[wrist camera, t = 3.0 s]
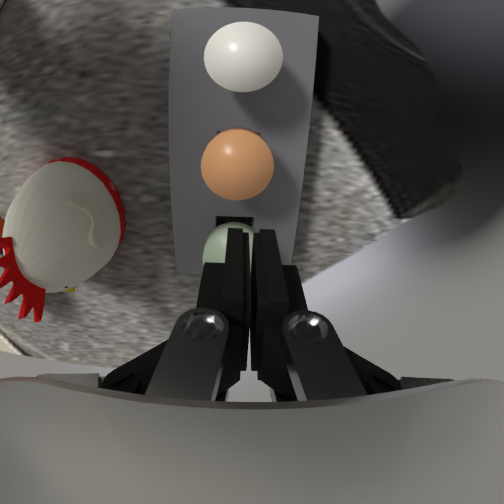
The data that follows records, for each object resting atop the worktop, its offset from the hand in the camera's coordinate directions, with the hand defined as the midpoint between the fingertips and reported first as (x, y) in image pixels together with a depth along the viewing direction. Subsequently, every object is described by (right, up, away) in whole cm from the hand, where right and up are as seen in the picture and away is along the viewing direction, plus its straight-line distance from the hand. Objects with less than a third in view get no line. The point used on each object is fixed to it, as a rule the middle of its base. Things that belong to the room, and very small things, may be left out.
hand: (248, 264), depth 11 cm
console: (-1, +11, +16) cm, 20 cm away
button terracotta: (-1, +9, +14) cm, 17 cm away
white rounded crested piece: (-21, +5, +19) cm, 29 cm away
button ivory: (-1, +16, +10) cm, 19 cm away
